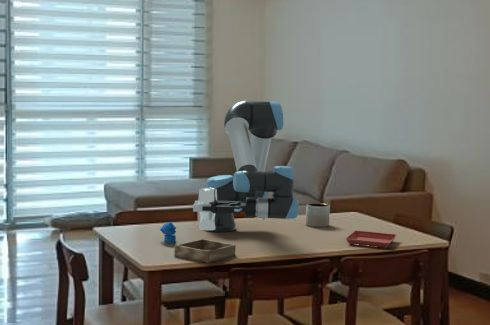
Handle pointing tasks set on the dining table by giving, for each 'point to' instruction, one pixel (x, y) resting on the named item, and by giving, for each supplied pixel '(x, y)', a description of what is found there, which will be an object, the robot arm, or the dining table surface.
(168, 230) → the blue figurine
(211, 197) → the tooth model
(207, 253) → the crate
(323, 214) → the planter
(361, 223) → the dining table surface
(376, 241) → the plant saucer
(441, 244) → the dining table surface
